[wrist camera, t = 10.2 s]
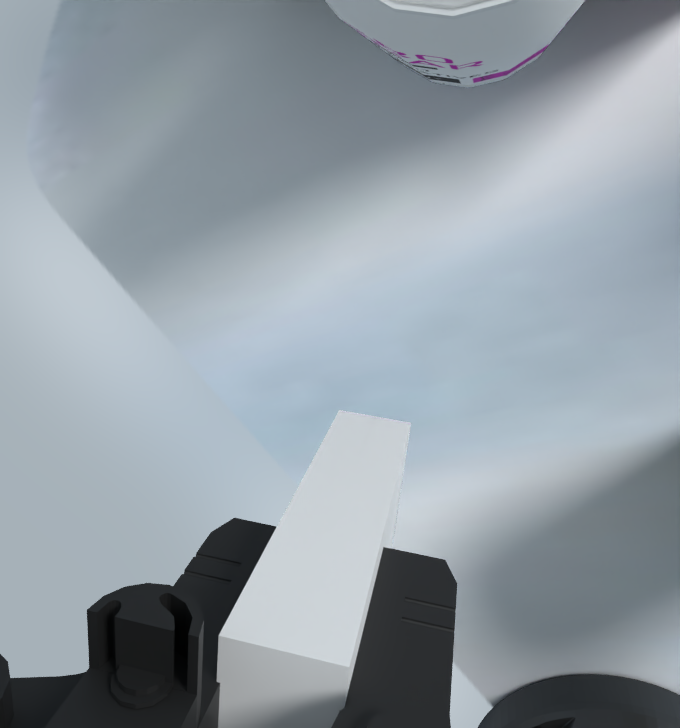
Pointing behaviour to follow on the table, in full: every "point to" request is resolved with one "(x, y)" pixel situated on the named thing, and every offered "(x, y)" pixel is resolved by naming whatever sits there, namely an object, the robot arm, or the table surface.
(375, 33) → the supplement can
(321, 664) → the robot arm
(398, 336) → the table surface
